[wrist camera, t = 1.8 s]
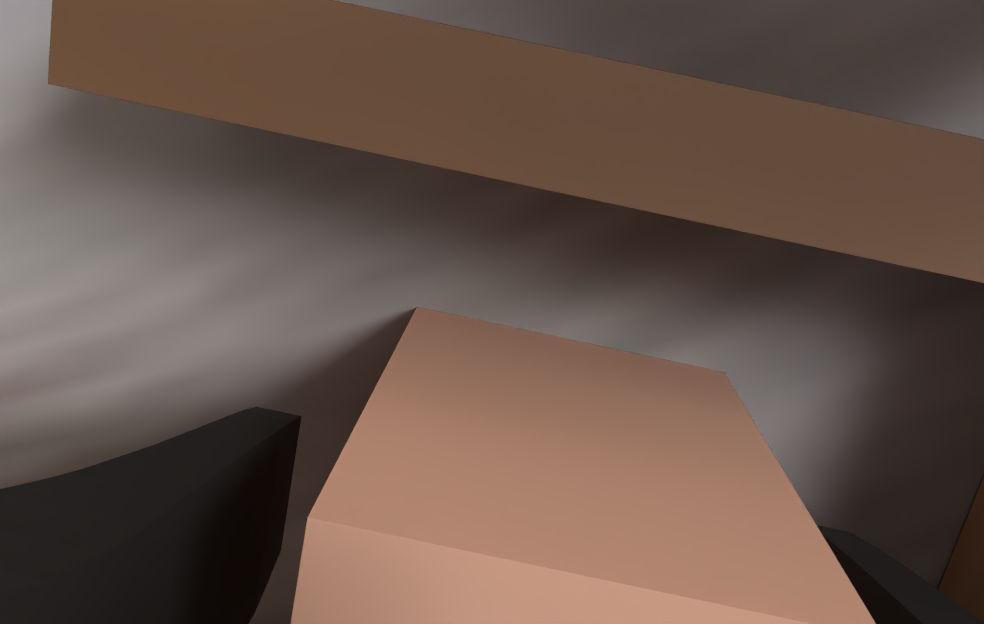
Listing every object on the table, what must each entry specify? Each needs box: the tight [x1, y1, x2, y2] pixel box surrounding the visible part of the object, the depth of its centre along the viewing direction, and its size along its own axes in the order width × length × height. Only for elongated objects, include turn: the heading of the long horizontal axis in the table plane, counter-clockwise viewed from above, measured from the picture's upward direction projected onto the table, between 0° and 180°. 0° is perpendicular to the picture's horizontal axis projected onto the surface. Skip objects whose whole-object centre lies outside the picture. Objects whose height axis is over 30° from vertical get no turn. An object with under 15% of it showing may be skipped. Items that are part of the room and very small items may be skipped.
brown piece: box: [48, 0, 984, 622], centre depth 11 cm, size 12×13×4 cm
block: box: [291, 307, 876, 624], centre depth 10 cm, size 4×4×6 cm
